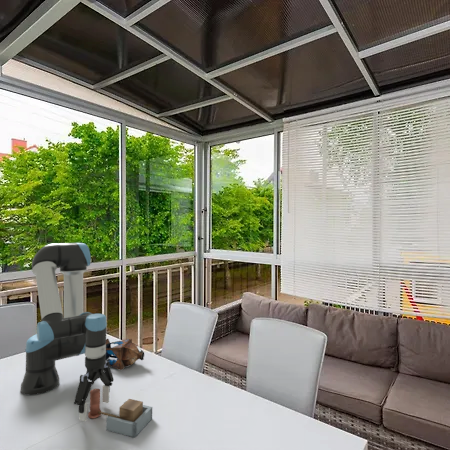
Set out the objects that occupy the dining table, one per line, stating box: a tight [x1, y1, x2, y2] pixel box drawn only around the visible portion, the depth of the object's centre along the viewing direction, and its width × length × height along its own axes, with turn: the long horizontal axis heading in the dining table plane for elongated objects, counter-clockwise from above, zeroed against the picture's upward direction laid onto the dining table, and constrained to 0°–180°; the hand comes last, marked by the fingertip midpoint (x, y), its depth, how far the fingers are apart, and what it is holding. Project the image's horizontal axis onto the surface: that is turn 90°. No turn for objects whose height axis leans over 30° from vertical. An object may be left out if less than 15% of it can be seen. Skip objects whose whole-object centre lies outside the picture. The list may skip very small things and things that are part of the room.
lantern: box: [105, 338, 145, 371], centre depth 165 cm, size 16×16×25 cm
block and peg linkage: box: [87, 388, 144, 422], centre depth 119 cm, size 22×6×9 cm, turn 72°
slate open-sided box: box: [105, 400, 153, 438], centre depth 117 cm, size 12×11×4 cm
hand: (94, 410), depth 122 cm, fingers open, 12 cm apart
